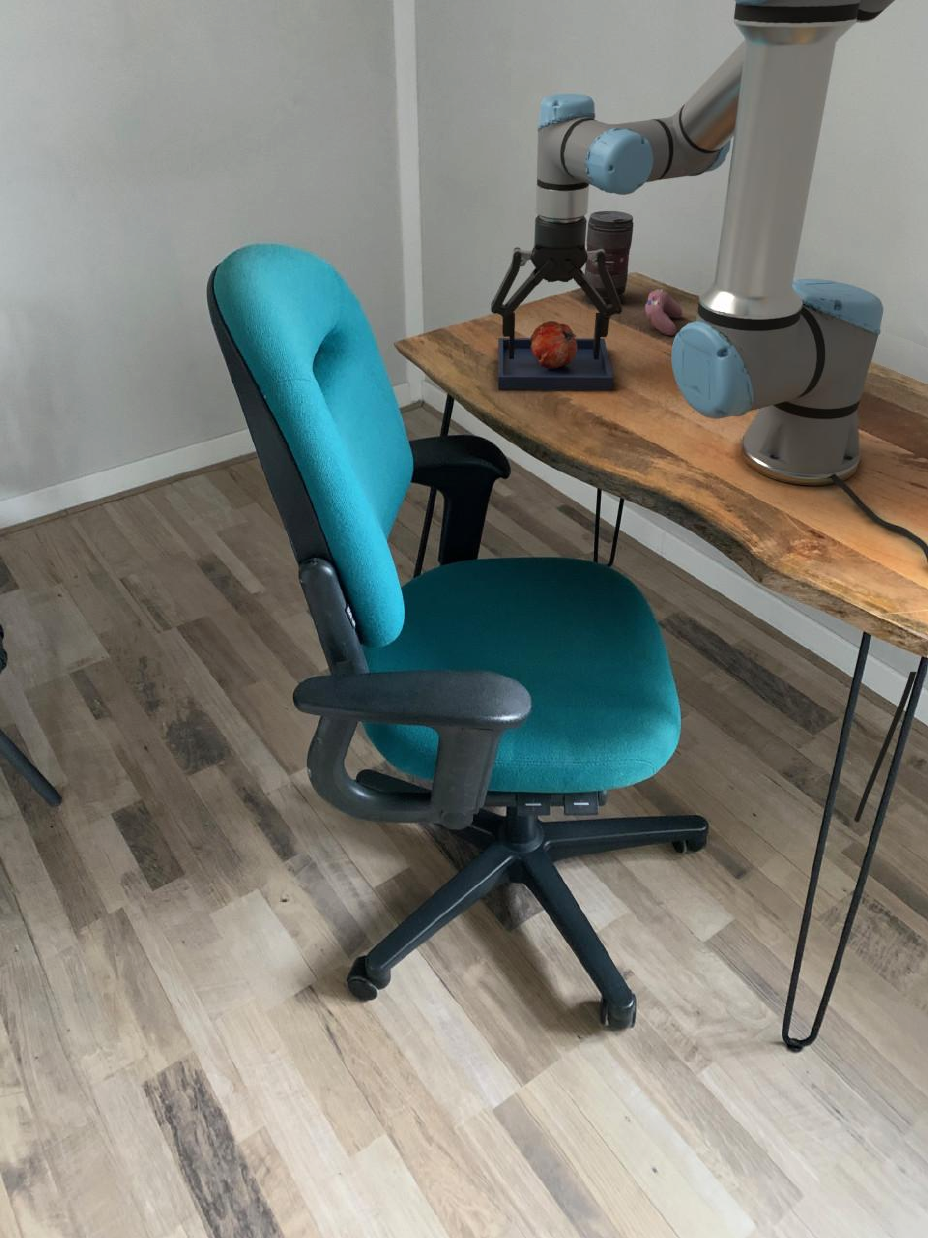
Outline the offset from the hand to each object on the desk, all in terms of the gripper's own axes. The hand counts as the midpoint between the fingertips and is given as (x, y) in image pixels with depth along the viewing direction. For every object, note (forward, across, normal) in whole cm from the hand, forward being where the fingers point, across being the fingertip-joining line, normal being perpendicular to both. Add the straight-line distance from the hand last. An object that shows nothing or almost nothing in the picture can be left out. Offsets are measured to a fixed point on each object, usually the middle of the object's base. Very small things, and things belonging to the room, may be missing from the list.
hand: (553, 356), depth 151 cm
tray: (+2, 0, 0) cm, 2 cm away
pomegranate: (+2, 0, 0) cm, 2 cm away
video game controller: (+2, -20, -19) cm, 28 cm away
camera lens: (+2, -11, -32) cm, 34 cm away
